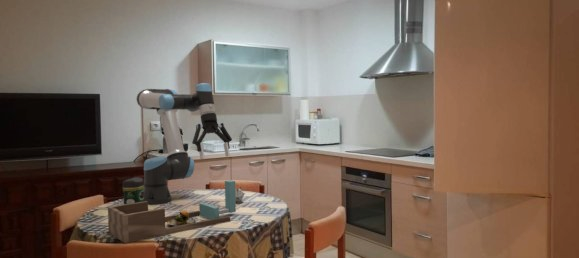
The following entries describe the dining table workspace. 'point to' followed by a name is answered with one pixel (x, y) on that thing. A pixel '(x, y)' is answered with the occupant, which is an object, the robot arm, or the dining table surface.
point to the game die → (239, 194)
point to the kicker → (230, 203)
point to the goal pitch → (148, 222)
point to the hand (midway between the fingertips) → (215, 157)
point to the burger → (181, 219)
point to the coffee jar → (133, 190)
